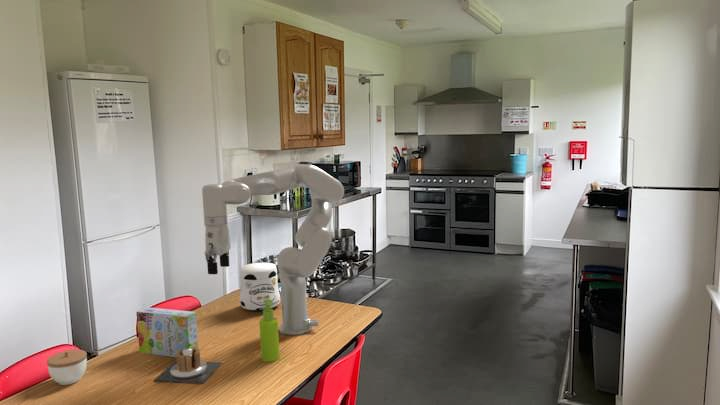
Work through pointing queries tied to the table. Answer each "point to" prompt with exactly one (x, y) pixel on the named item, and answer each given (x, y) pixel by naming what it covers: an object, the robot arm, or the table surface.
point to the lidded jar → (67, 366)
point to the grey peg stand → (188, 377)
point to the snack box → (166, 331)
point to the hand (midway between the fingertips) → (219, 270)
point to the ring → (187, 360)
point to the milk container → (258, 286)
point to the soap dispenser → (269, 334)
